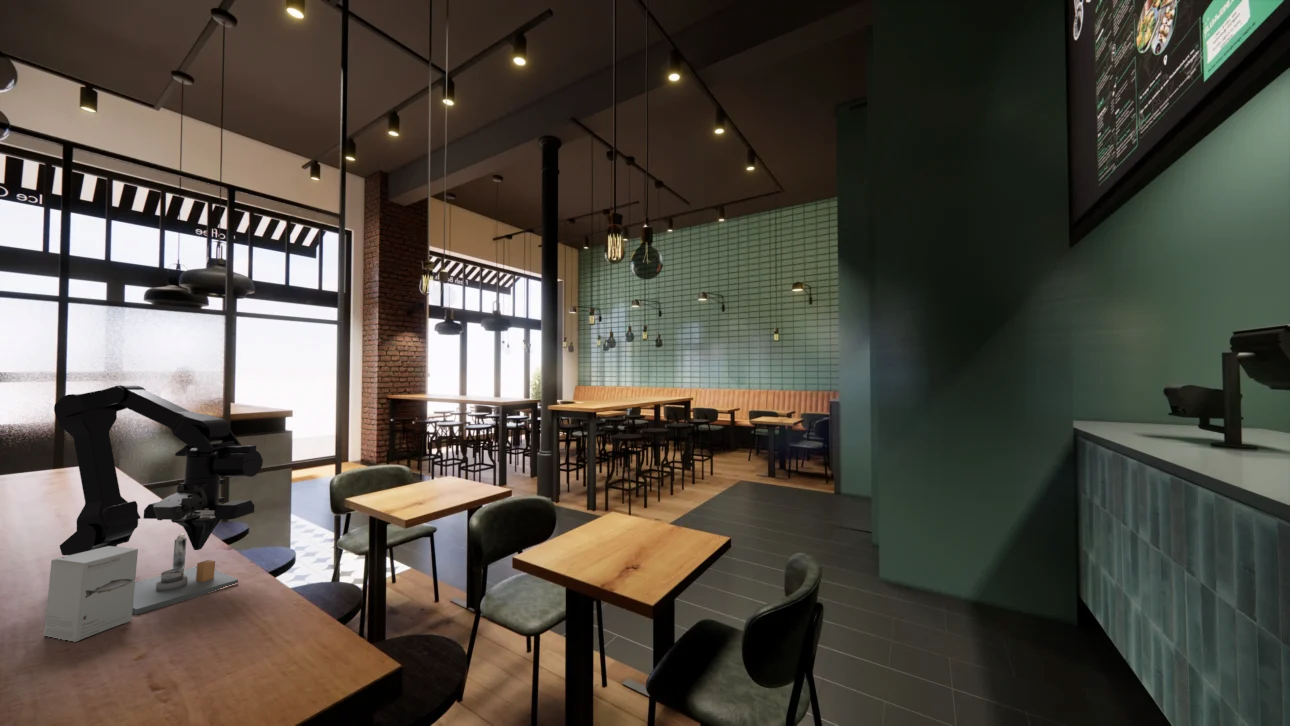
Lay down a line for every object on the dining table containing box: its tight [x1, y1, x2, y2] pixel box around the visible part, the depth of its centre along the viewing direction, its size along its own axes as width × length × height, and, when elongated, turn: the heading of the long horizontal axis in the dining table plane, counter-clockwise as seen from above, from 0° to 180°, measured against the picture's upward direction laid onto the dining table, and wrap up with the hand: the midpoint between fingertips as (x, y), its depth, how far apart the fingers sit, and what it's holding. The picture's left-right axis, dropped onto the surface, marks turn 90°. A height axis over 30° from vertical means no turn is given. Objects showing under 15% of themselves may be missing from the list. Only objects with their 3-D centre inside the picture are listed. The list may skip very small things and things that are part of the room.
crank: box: [160, 533, 188, 583], centre depth 96 cm, size 10×3×7 cm, turn 38°
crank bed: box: [132, 559, 239, 616], centre depth 94 cm, size 16×15×4 cm
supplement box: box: [43, 546, 139, 643], centre depth 79 cm, size 7×7×13 cm
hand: (197, 549), depth 100 cm, fingers closed
